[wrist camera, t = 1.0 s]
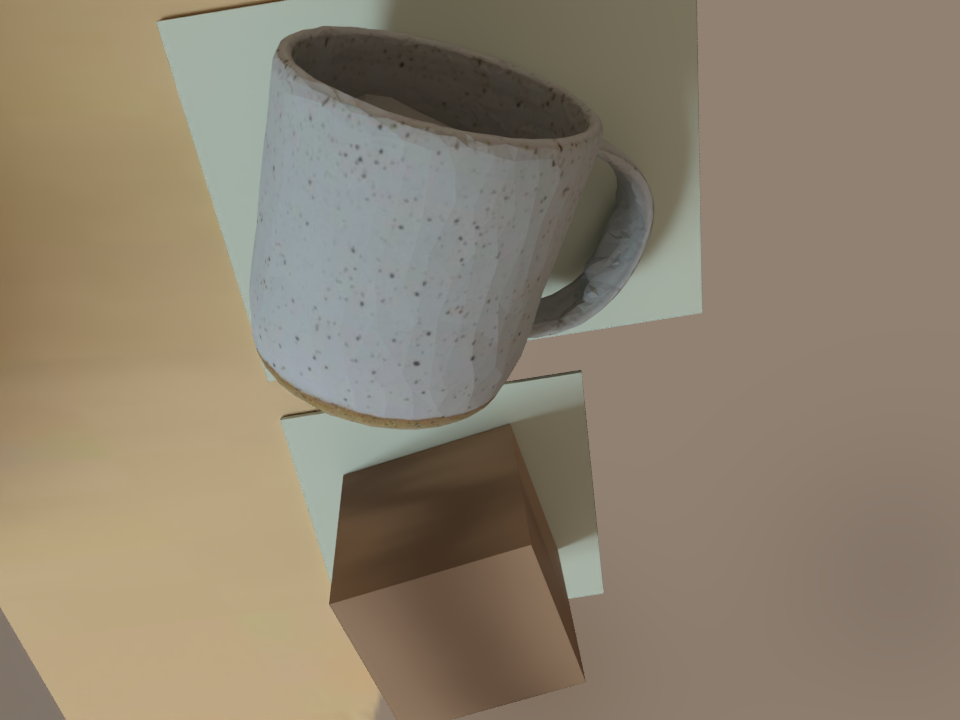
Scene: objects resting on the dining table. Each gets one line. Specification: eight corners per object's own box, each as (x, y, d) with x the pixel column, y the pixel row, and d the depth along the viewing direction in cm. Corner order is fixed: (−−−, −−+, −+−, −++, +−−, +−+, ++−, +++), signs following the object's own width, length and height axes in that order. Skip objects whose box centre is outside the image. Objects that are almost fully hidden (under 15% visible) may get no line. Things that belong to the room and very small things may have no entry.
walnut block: (405, 595, 33) (403, 732, 28) (342, 475, 30) (328, 604, 25) (557, 550, 33) (585, 682, 27) (510, 423, 30) (531, 544, 24)
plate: (346, 629, 34) (346, 633, 34) (281, 417, 29) (280, 421, 29) (602, 590, 34) (603, 593, 34) (580, 370, 29) (581, 373, 29)
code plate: (268, 379, 28) (267, 382, 28) (157, 20, 23) (155, 21, 23) (700, 310, 28) (702, 313, 28) (693, -68, 23) (695, -67, 23)
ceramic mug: (260, 289, 26) (215, 437, 20) (294, 5, 23) (253, 71, 16) (594, 344, 28) (655, 495, 22) (678, 91, 25) (784, 182, 18)
